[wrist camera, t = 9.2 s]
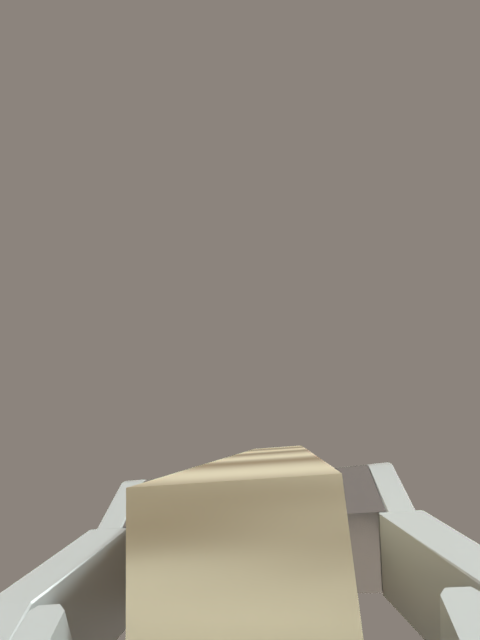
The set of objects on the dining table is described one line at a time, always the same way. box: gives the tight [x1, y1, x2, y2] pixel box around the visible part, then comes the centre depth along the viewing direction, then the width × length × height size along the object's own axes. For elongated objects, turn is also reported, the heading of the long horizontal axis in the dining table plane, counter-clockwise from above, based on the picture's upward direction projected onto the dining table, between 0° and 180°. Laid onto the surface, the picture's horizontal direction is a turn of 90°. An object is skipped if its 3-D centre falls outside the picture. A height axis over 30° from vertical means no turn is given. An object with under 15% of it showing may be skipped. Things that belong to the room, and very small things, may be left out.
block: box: [126, 446, 363, 640], centre depth 16 cm, size 22×3×3 cm, turn 173°
